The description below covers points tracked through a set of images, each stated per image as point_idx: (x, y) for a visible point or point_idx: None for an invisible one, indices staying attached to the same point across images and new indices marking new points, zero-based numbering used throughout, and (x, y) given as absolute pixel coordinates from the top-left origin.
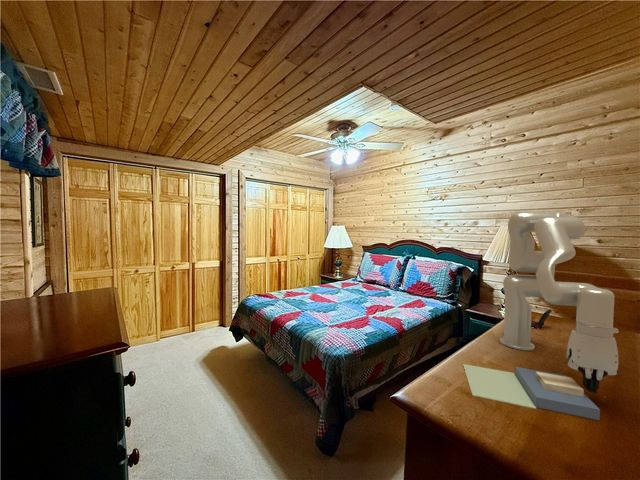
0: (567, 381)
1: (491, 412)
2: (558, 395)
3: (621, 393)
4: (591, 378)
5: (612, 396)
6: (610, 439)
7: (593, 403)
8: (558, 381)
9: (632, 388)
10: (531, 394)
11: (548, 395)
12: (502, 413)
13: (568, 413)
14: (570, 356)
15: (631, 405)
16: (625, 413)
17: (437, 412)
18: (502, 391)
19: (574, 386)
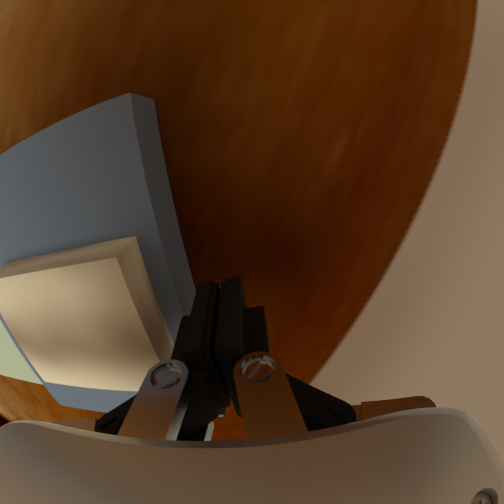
0: (101, 334)
1: (35, 409)
2: None
3: (429, 75)
4: (220, 401)
5: (379, 127)
6: (225, 430)
7: None
8: (69, 353)
9: (471, 22)
10: None
11: (76, 391)
12: (45, 409)
13: None
14: (5, 446)
15: (418, 191)
16: (352, 288)
17: (7, 415)
18: (1, 340)
19: (135, 376)
